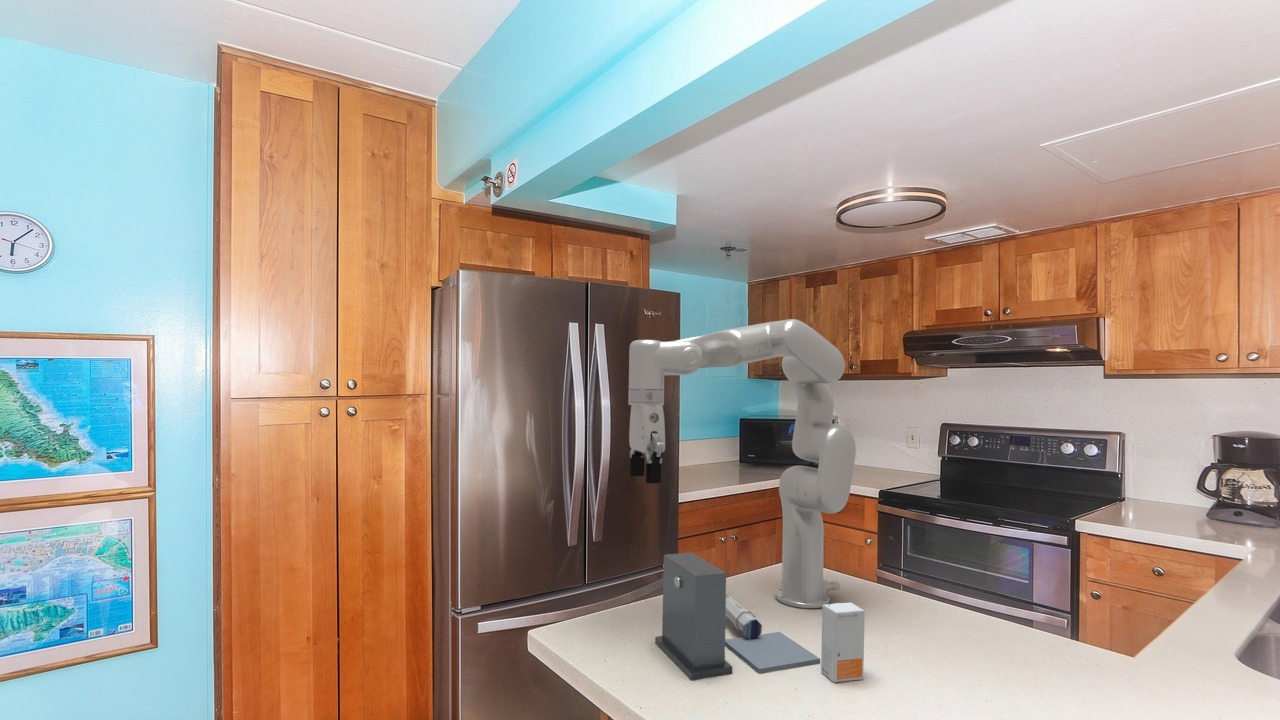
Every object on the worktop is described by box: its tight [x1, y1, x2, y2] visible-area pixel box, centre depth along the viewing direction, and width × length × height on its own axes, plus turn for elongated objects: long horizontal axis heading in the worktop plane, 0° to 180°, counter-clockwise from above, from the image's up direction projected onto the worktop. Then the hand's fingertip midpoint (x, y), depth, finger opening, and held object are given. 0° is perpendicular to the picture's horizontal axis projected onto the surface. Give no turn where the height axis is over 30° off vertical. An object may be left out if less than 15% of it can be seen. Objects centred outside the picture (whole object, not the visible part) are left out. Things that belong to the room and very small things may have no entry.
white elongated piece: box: [726, 593, 763, 640], centre depth 132 cm, size 5×7×25 cm
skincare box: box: [820, 602, 866, 683], centre depth 108 cm, size 6×4×12 cm
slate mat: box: [725, 631, 821, 674], centre depth 116 cm, size 13×13×1 cm
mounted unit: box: [654, 552, 733, 681], centre depth 114 cm, size 8×16×17 cm, turn 21°
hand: (644, 479), depth 129 cm, fingers open, 9 cm apart
